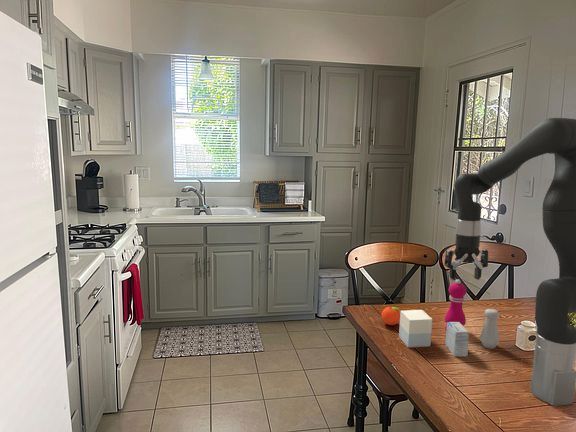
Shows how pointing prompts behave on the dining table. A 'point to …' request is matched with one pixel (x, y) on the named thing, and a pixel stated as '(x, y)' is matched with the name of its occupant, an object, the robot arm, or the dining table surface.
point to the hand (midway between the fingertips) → (465, 279)
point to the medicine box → (457, 339)
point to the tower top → (415, 321)
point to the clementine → (391, 315)
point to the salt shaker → (490, 329)
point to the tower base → (414, 338)
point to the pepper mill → (456, 303)
